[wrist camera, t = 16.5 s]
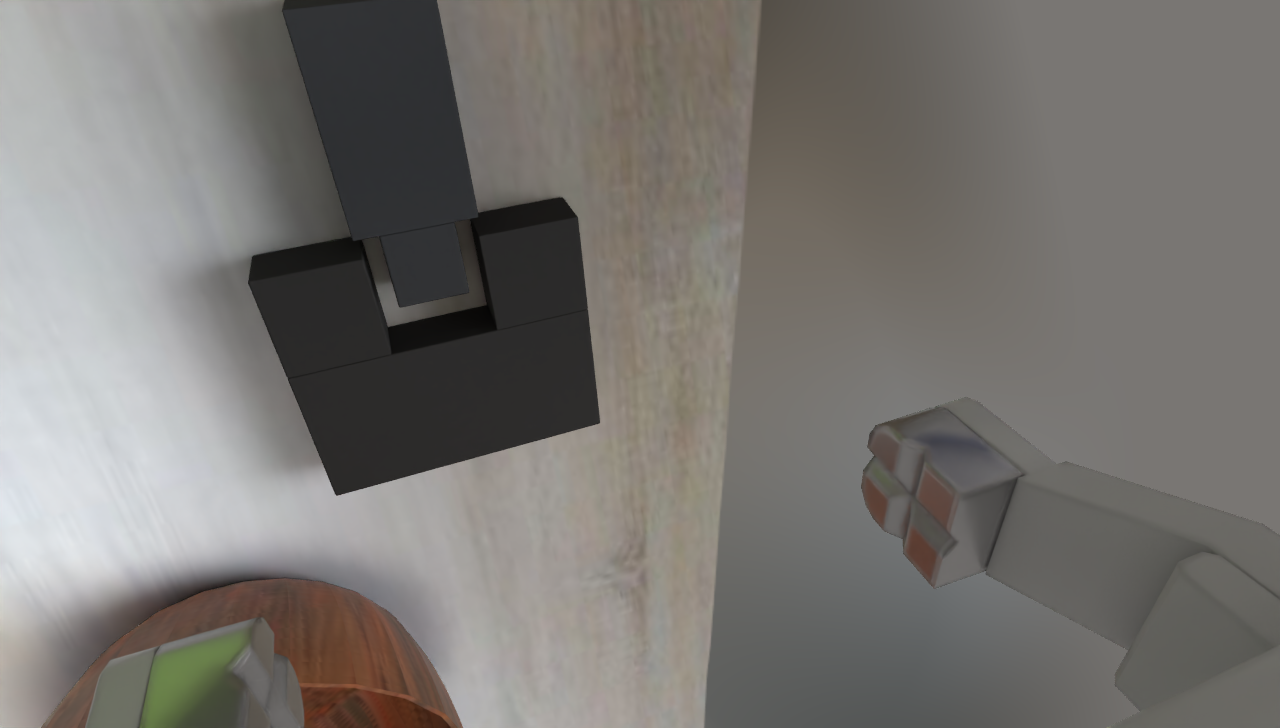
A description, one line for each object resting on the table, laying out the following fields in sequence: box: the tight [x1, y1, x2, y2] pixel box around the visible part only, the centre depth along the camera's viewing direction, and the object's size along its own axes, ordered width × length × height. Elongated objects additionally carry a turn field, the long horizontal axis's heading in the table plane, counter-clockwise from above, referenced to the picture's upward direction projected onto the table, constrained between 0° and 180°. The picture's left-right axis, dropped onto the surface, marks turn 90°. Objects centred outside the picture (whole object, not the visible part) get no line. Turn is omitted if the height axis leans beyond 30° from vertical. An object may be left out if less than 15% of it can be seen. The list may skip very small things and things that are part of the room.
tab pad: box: [282, 0, 478, 307], centre depth 35 cm, size 6×14×3 cm, turn 3°
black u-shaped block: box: [248, 197, 600, 496], centre depth 41 cm, size 16×14×3 cm
